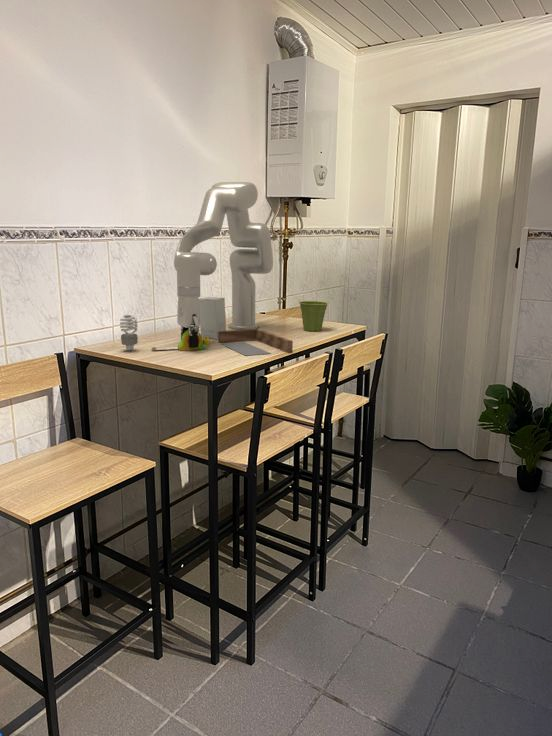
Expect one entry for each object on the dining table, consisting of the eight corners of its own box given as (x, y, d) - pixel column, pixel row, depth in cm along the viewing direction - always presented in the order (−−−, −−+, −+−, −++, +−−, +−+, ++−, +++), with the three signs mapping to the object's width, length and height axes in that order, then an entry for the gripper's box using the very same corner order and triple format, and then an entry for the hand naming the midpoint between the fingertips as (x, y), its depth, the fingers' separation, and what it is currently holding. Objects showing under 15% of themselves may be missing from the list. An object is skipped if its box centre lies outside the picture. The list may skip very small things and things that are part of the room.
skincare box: (226, 337, 216) (226, 297, 212) (216, 339, 211) (216, 299, 207) (209, 334, 220) (208, 295, 217) (198, 337, 215) (198, 297, 212)
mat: (220, 344, 203) (220, 343, 203) (243, 342, 207) (243, 341, 207) (245, 356, 185) (245, 355, 185) (270, 353, 189) (270, 353, 189)
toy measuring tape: (211, 350, 193) (211, 330, 192) (152, 352, 187) (152, 332, 186) (208, 346, 199) (207, 327, 198) (150, 348, 193) (150, 329, 192)
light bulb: (117, 350, 189) (115, 314, 187) (132, 348, 194) (130, 312, 191) (127, 353, 186) (125, 316, 183) (142, 350, 190) (140, 314, 187)
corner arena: (218, 342, 206) (218, 331, 205) (258, 339, 213) (258, 328, 212) (249, 356, 184) (249, 344, 183) (292, 352, 191) (292, 340, 190)
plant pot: (326, 333, 228) (328, 304, 225) (297, 332, 229) (297, 303, 227) (327, 328, 239) (328, 301, 237) (299, 327, 241) (299, 300, 238)
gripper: (169, 289, 195) (170, 341, 199) (186, 295, 180) (187, 351, 185) (190, 289, 199) (191, 340, 203) (209, 294, 184) (209, 349, 188)
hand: (189, 345), depth 194 cm, fingers closed on toy measuring tape, 6 cm apart
